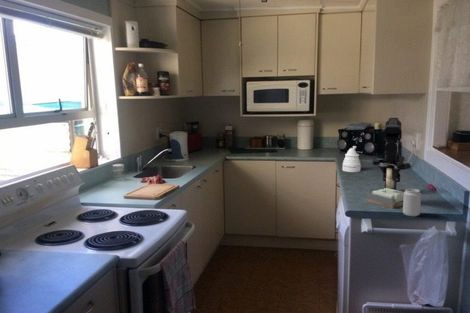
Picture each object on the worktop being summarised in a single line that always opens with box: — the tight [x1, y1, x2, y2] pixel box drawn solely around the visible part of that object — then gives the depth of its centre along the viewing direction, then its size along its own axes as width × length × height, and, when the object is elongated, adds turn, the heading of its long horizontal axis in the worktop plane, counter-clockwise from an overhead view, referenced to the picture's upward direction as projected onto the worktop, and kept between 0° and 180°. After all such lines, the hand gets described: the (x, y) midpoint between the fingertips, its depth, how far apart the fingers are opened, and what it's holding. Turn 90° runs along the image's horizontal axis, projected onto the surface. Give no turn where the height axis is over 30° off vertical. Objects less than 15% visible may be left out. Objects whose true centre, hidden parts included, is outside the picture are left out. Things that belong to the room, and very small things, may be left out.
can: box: [402, 188, 422, 218], centre depth 177 cm, size 8×8×12 cm
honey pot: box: [341, 145, 362, 173], centre depth 279 cm, size 13×13×18 cm
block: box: [371, 187, 405, 202], centre depth 198 cm, size 12×12×4 cm
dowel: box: [386, 168, 394, 189], centre depth 196 cm, size 4×4×10 cm
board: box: [365, 192, 403, 209], centre depth 199 cm, size 20×16×4 cm
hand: (390, 180), depth 196 cm, fingers closed on dowel, 4 cm apart
